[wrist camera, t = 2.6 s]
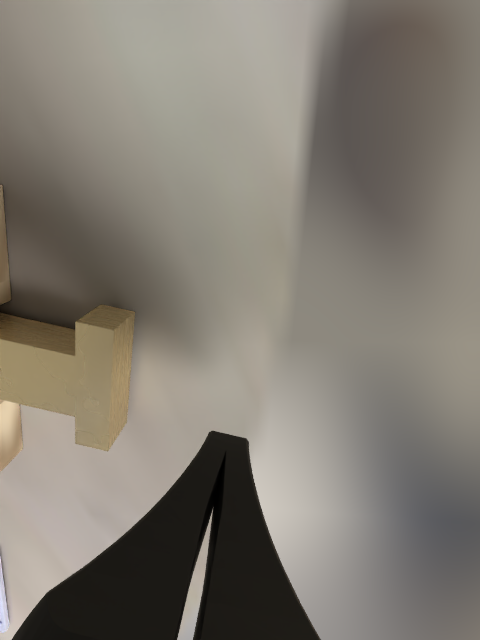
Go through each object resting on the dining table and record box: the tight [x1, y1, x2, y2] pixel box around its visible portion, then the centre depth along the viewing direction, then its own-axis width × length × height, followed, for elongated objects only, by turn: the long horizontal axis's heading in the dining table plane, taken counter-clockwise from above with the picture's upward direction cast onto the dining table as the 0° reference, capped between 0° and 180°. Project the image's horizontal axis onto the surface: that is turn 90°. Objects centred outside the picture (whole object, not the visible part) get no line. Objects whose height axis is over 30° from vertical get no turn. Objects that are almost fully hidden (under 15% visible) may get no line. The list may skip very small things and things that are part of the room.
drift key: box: [0, 304, 135, 451], centre depth 15 cm, size 6×8×2 cm
